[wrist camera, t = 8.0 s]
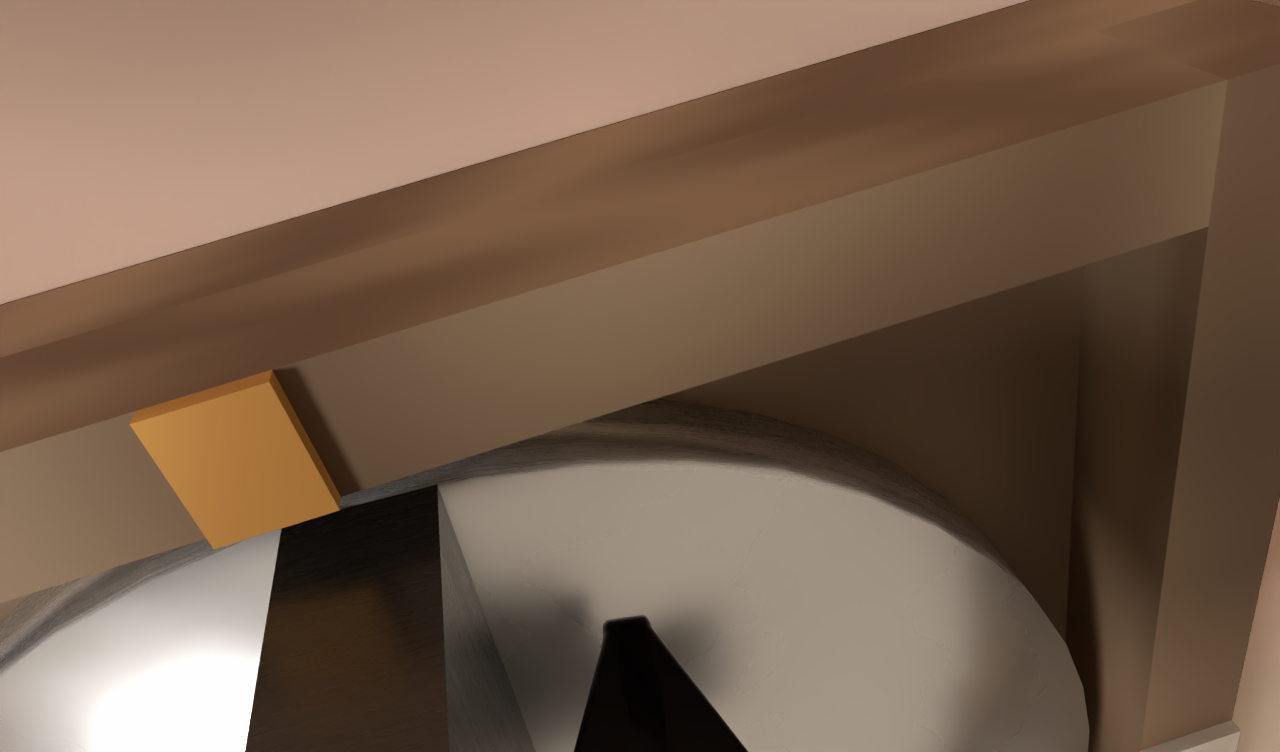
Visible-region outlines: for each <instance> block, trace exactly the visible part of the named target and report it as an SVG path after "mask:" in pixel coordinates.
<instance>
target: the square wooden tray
mask: <svg viewBox="0 0 1280 752" xmlns="http://www.w3.org/2000/svg"><path fill="white" fill-rule="evenodd" d="M650 400H665V401H672V402H679V403H686V404H693V405H700V406H707V407H714V408H721V409H728V410H735V411H742V412H749V413H753V414H757V415H761V416H764V417H768V418H771V419H775V420H779V421H782V422H786V423H789V424H793V425H797V426H800V427H804V428H807V429H811V430H815V431H818V432H822V433H825V434H828V435H831V436H833V437H835V438H838V439H840V440H842V441H844V442H847V443H849V444H851V445H854V446H856V447H858V448H860V449H863V450H865V451H867V452H869V453H872V454H874V455H876V456H879V457H881V458H883V459H885V460H888V461H890V462H892V463H894V464H895V465H897V466H898V467H900V468H901V469H903V470H905V471H906V472H908V473H909V474H911V475H912V476H914V477H915V478H917V479H918V480H920V481H922V482H923V483H925V484H926V485H928V486H929V487H931V488H932V489H934V490H935V491H937V492H938V493H940V494H942V495H943V496H945V497H946V498H947V499H948V500H949V501H950V502H951V503H952V504H953V505H954V506H955V507H956V508H957V509H958V510H960V511H961V512H962V513H963V514H964V515H965V516H966V517H967V518H968V519H969V520H970V521H971V522H972V523H973V524H974V525H975V526H976V527H977V528H979V529H980V530H981V531H982V532H983V533H984V534H985V535H986V536H987V538H988V539H989V540H990V542H991V543H992V544H993V546H994V547H995V548H996V549H997V551H998V552H999V553H1000V555H1001V556H1002V557H1003V559H1004V560H1005V561H1006V563H1007V564H1008V565H1009V566H1010V568H1011V569H1012V570H1013V572H1014V573H1015V574H1016V576H1017V577H1018V578H1019V580H1020V581H1021V582H1022V583H1023V585H1024V586H1025V587H1026V589H1027V590H1028V591H1029V593H1030V594H1031V595H1032V596H1033V598H1034V599H1035V600H1036V602H1037V603H1038V604H1039V606H1040V607H1041V609H1042V610H1043V612H1044V613H1045V614H1046V616H1047V617H1048V619H1049V620H1050V622H1051V623H1052V625H1053V626H1054V627H1055V629H1056V630H1057V632H1058V633H1059V635H1060V636H1061V637H1062V639H1063V640H1064V642H1065V643H1066V645H1067V647H1068V650H1069V652H1070V655H1071V657H1072V660H1073V662H1074V665H1075V668H1076V670H1077V673H1078V675H1079V678H1080V680H1081V683H1082V685H1083V689H1084V696H1085V703H1086V710H1087V717H1088V723H1089V744H1088V752H1236V750H1237V746H1238V742H1239V737H1240V733H1241V731H1240V729H1239V728H1238V727H1237V726H1236V725H1235V724H1234V723H1233V721H1232V715H1233V710H1234V706H1235V701H1236V697H1237V692H1238V687H1239V683H1240V678H1241V673H1242V669H1243V664H1244V659H1245V655H1246V650H1247V645H1248V641H1249V636H1250V632H1251V627H1252V622H1253V618H1254V613H1255V608H1256V604H1257V599H1258V594H1259V590H1260V585H1261V580H1262V576H1263V571H1264V567H1265V562H1266V557H1267V553H1268V548H1269V543H1270V539H1271V534H1272V529H1273V525H1274V520H1275V516H1276V511H1277V506H1278V502H1279V497H1280V7H1276V6H1273V5H1269V4H1265V3H1261V2H1257V1H1254V0H1031V1H1027V2H1024V3H1021V4H1017V5H1014V6H1010V7H1007V8H1004V9H1000V10H997V11H993V12H990V13H987V14H983V15H980V16H977V17H973V18H970V19H966V20H963V21H960V22H956V23H953V24H950V25H946V26H943V27H939V28H936V29H933V30H929V31H926V32H923V33H919V34H916V35H912V36H909V37H906V38H902V39H899V40H895V41H892V42H889V43H885V44H882V45H879V46H875V47H872V48H868V49H865V50H862V51H858V52H855V53H852V54H848V55H845V56H841V57H838V58H835V59H831V60H828V61H824V62H821V63H818V64H814V65H811V66H808V67H804V68H801V69H797V70H794V71H791V72H787V73H784V74H781V75H777V76H774V77H770V78H767V79H764V80H760V81H757V82H754V83H750V84H747V85H743V86H740V87H737V88H733V89H730V90H726V91H723V92H720V93H716V94H713V95H710V96H706V97H703V98H699V99H696V100H693V101H689V102H686V103H683V104H679V105H676V106H672V107H669V108H666V109H662V110H659V111H655V112H652V113H649V114H645V115H642V116H639V117H635V118H632V119H628V120H625V121H622V122H618V123H615V124H612V125H608V126H605V127H601V128H598V129H595V130H591V131H588V132H584V133H581V134H578V135H574V136H571V137H568V138H564V139H561V140H557V141H554V142H551V143H547V144H544V145H541V146H537V147H534V148H530V149H527V150H524V151H520V152H517V153H514V154H510V155H507V156H503V157H500V158H497V159H493V160H490V161H486V162H483V163H480V164H476V165H473V166H470V167H466V168H463V169H459V170H456V171H453V172H449V173H446V174H443V175H439V176H436V177H432V178H429V179H426V180H422V181H419V182H415V183H412V184H409V185H405V186H402V187H399V188H395V189H392V190H388V191H385V192H382V193H378V194H375V195H372V196H368V197H365V198H361V199H358V200H355V201H351V202H348V203H344V204H341V205H338V206H334V207H331V208H328V209H324V210H321V211H317V212H314V213H311V214H307V215H304V216H301V217H297V218H294V219H290V220H287V221H284V222H280V223H277V224H274V225H270V226H267V227H263V228H260V229H257V230H253V231H250V232H246V233H243V234H240V235H236V236H233V237H230V238H226V239H223V240H219V241H216V242H213V243H209V244H206V245H203V246H199V247H196V248H192V249H189V250H186V251H182V252H179V253H175V254H172V255H169V256H165V257H162V258H159V259H155V260H152V261H148V262H145V263H142V264H138V265H135V266H132V267H128V268H125V269H121V270H118V271H115V272H111V273H108V274H105V275H101V276H98V277H94V278H91V279H88V280H84V281H81V282H77V283H74V284H71V285H67V286H64V287H61V288H57V289H54V290H50V291H47V292H44V293H40V294H37V295H34V296H30V297H27V298H23V299H20V300H17V301H13V302H10V303H6V304H3V305H0V622H1V621H2V620H3V619H4V618H5V617H6V616H7V615H8V614H9V613H10V612H11V611H12V610H13V608H14V607H15V606H16V605H17V604H18V603H19V602H21V601H22V600H23V599H24V598H26V597H27V596H28V595H29V594H31V593H34V592H37V591H40V590H44V589H47V588H50V587H53V586H56V585H60V584H63V583H66V582H69V581H72V580H76V579H79V578H82V577H85V576H89V575H92V574H95V573H98V572H101V571H105V570H108V569H111V568H114V567H117V566H121V565H124V564H127V563H130V562H133V561H137V560H140V559H143V558H146V557H150V556H153V555H156V554H159V553H162V552H166V551H169V550H172V549H175V548H178V547H182V546H185V545H188V544H191V543H194V542H198V541H201V540H204V539H207V540H208V542H209V543H210V545H211V546H212V548H213V549H218V548H221V547H224V546H227V545H230V544H234V543H237V542H240V541H243V540H246V539H250V538H253V537H256V536H259V535H262V534H266V533H269V532H272V531H275V530H278V529H282V528H285V527H288V526H291V525H294V524H298V523H301V522H304V521H307V520H310V519H314V518H317V517H320V516H323V515H326V514H330V513H333V512H336V511H339V510H340V502H341V497H342V496H345V495H349V494H352V493H355V492H358V491H361V490H365V489H368V488H371V487H374V486H377V485H381V484H384V483H387V482H390V481H393V480H397V479H400V478H403V477H406V476H410V475H413V474H416V473H419V472H422V471H426V470H429V469H432V468H435V467H438V466H442V465H445V464H448V463H451V462H454V461H458V460H461V459H464V458H467V457H471V456H474V455H477V454H480V453H483V452H487V451H490V450H493V449H496V448H499V447H503V446H506V445H509V444H512V443H515V442H519V441H522V440H525V439H528V438H531V437H535V436H538V435H541V434H544V433H548V432H551V431H554V430H557V429H560V428H564V427H567V426H570V425H573V424H576V423H580V422H583V421H586V420H589V419H592V418H596V417H599V416H602V415H605V414H609V413H612V412H615V411H618V410H621V409H625V408H628V407H631V406H634V405H637V404H641V403H644V402H647V401H650Z"/></svg>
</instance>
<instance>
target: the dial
mask: <svg viewBox="0 0 1280 752" xmlns="http://www.w3.org/2000/svg"><path fill="white" fill-rule="evenodd" d="M637 615H644V616H647V618H648V619H649V621H650V624H651V627H652V628H653V630H654V631H655V632H656V634H657V635H658V636H659V637H660V639H661V640H662V641H663V643H664V644H665V645H666V646H667V648H668V649H669V650H670V652H671V653H672V654H673V655H674V657H675V658H676V659H677V661H678V662H679V663H680V664H681V666H682V667H683V668H684V670H685V671H686V672H687V673H688V675H689V676H690V677H691V679H692V680H693V681H694V682H695V684H696V685H697V686H698V688H699V689H700V690H701V691H702V693H703V694H704V695H705V697H706V698H707V699H708V700H709V702H710V703H711V704H712V706H713V707H714V708H715V709H716V711H717V712H718V713H719V715H720V716H721V717H722V718H723V720H724V721H725V722H726V724H727V725H728V726H729V727H730V729H731V730H732V731H733V732H734V734H735V735H736V736H737V738H738V739H739V740H740V741H741V743H742V744H743V745H744V747H745V748H746V749H747V750H748V752H1088V744H1089V723H1088V717H1087V710H1086V703H1085V696H1084V689H1083V685H1082V683H1081V680H1080V678H1079V675H1078V673H1077V670H1076V668H1075V665H1074V662H1073V660H1072V657H1071V655H1070V652H1069V650H1068V647H1067V645H1066V643H1065V642H1064V640H1063V639H1062V637H1061V636H1060V635H1059V633H1058V632H1057V630H1056V629H1055V627H1054V626H1053V625H1052V623H1051V622H1050V620H1049V619H1048V617H1047V616H1046V614H1045V613H1044V612H1043V610H1042V609H1041V607H1040V606H1039V604H1038V603H1037V602H1036V600H1035V599H1034V598H1033V596H1032V595H1031V594H1030V593H1029V591H1028V590H1027V589H1026V587H1025V586H1024V585H1023V583H1022V582H1021V581H1020V580H1019V578H1018V577H1017V576H1016V574H1015V573H1014V572H1013V570H1012V569H1011V568H1010V566H1009V565H1008V564H1007V563H1006V561H1005V560H1004V559H1003V557H1002V556H1001V555H1000V553H999V552H998V551H997V549H996V548H995V547H994V546H993V544H992V543H991V542H990V540H989V539H988V538H987V536H986V535H985V534H984V533H983V532H982V531H981V530H980V529H979V528H977V527H976V526H975V525H974V524H973V523H972V522H971V521H970V520H969V519H968V518H967V517H966V516H965V515H964V514H963V513H962V512H961V511H960V510H958V509H957V508H956V507H955V506H954V505H953V504H952V503H951V502H950V501H949V500H948V499H947V498H946V497H945V496H943V495H942V494H940V493H938V492H937V491H935V490H934V489H932V488H931V487H929V486H928V485H926V484H925V483H923V482H922V481H920V480H918V479H917V478H915V477H914V476H912V475H911V474H909V473H908V472H906V471H905V470H903V469H901V468H900V467H898V466H897V465H895V464H894V463H892V462H890V461H888V460H885V459H883V458H881V457H879V456H876V455H874V454H872V453H869V452H867V451H865V450H863V449H860V448H858V447H856V446H854V445H851V444H849V443H847V442H844V441H842V440H840V439H838V438H835V437H833V436H831V435H828V434H825V433H822V432H818V431H815V430H811V429H807V428H804V427H800V426H797V425H793V424H789V423H786V422H782V421H779V420H775V419H771V418H768V417H764V416H761V415H757V414H753V413H749V412H742V411H735V410H728V409H721V408H714V407H707V406H700V405H693V404H686V403H679V402H672V401H665V400H650V401H647V402H644V403H641V404H637V405H634V406H631V407H628V408H625V409H621V410H618V411H615V412H612V413H609V414H605V415H602V416H599V417H596V418H592V419H589V420H586V421H583V422H580V423H576V424H573V425H570V426H567V427H564V428H560V429H557V430H554V431H551V432H548V433H544V434H541V435H538V436H535V437H531V438H528V439H525V440H522V441H519V442H515V443H512V444H509V445H506V446H503V447H499V448H496V449H493V450H490V451H487V452H483V453H480V454H477V455H474V456H471V457H467V458H464V459H461V460H458V461H454V462H451V463H448V464H445V465H442V466H438V467H435V468H432V469H429V470H426V471H422V472H419V473H416V474H413V475H410V476H406V477H403V478H400V479H397V480H393V481H390V482H387V483H384V484H381V485H377V486H374V487H371V488H368V489H365V490H361V491H358V492H355V493H352V494H349V495H345V496H342V497H341V502H340V510H339V511H336V512H333V513H330V514H326V515H323V516H320V517H317V518H314V519H310V520H307V521H304V522H301V523H298V524H294V525H291V526H288V527H285V528H282V529H278V530H275V531H272V532H269V533H266V534H262V535H259V536H256V537H253V538H250V539H246V540H243V541H240V542H237V543H234V544H230V545H227V546H224V547H221V548H218V549H213V548H212V546H211V545H210V543H209V542H208V540H207V539H204V540H201V541H198V542H194V543H191V544H188V545H185V546H182V547H178V548H175V549H172V550H169V551H166V552H162V553H159V554H156V555H153V556H150V557H146V558H143V559H140V560H137V561H133V562H130V563H127V564H124V565H121V566H117V567H114V568H111V569H108V570H105V571H101V572H98V573H95V574H92V575H89V576H85V577H82V578H79V579H76V580H72V581H69V582H66V583H63V584H60V585H56V586H53V587H50V588H47V589H44V590H40V591H37V592H34V593H31V594H29V595H28V596H27V597H26V598H24V599H23V600H22V601H21V602H19V603H18V604H17V605H16V606H15V607H14V608H13V610H12V611H11V612H10V613H9V614H8V615H7V616H6V617H5V618H4V619H3V620H2V621H1V622H0V752H574V748H575V745H576V741H577V737H578V733H579V729H580V726H581V722H582V718H583V714H584V710H585V707H586V703H587V699H588V695H589V692H590V688H591V684H592V680H593V676H594V673H595V669H596V665H597V661H598V657H599V654H600V650H601V646H602V642H603V624H604V623H605V622H606V621H607V620H610V619H617V618H623V617H630V616H637Z"/></svg>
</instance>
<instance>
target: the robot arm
mask: <svg viewBox="0 0 1280 752" xmlns="http://www.w3.org/2000/svg"><path fill="white" fill-rule="evenodd" d="M574 752H748V750H747V749H746V748H745V747H744V745H743V744H742V743H741V741H740V740H739V739H738V738H737V736H736V735H735V734H734V732H733V731H732V730H731V729H730V727H729V726H728V725H727V724H726V722H725V721H724V720H723V718H722V717H721V716H720V715H719V713H718V712H717V711H716V709H715V708H714V707H713V706H712V704H711V703H710V702H709V700H708V699H707V698H706V697H705V695H704V694H703V693H702V691H701V690H700V689H699V688H698V686H697V685H696V684H695V682H694V681H693V680H692V679H691V677H690V676H689V675H688V673H687V672H686V671H685V670H684V668H683V667H682V666H681V664H680V663H679V662H678V661H677V659H676V658H675V657H674V655H673V654H672V653H671V652H670V650H669V649H668V648H667V646H666V645H665V644H664V643H663V641H662V640H661V639H660V637H659V636H658V635H657V634H656V632H655V631H654V630H653V628H652V627H651V624H650V621H649V619H648V618H647V616H644V615H637V616H630V617H623V618H617V619H610V620H607V621H606V622H605V623H604V624H603V642H602V646H601V650H600V654H599V657H598V661H597V665H596V669H595V673H594V676H593V680H592V684H591V688H590V692H589V695H588V699H587V703H586V707H585V710H584V714H583V718H582V722H581V726H580V729H579V733H578V737H577V741H576V745H575V748H574Z"/></svg>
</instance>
